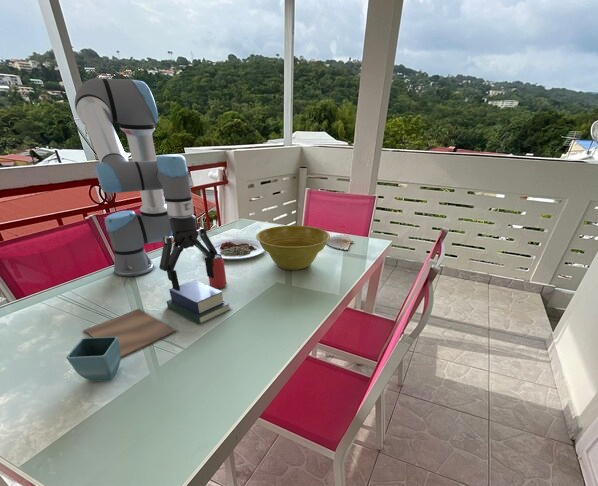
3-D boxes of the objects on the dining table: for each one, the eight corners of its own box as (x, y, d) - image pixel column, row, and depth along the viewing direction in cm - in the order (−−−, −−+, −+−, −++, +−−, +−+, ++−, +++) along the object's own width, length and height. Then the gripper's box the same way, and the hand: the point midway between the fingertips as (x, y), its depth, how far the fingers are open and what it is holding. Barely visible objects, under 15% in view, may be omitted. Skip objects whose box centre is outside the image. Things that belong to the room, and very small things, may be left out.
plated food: (248, 266, 149) (248, 258, 147) (192, 257, 157) (191, 250, 155) (275, 246, 172) (275, 239, 170) (225, 239, 180) (224, 233, 178)
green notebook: (167, 307, 116) (166, 301, 114) (198, 295, 124) (197, 289, 123) (199, 324, 107) (198, 317, 105) (230, 309, 115) (229, 303, 113)
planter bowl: (244, 271, 143) (242, 240, 136) (276, 249, 168) (275, 221, 160) (314, 283, 134) (315, 251, 126) (337, 258, 158) (339, 229, 150)
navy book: (171, 301, 114) (169, 289, 112) (196, 291, 121) (194, 279, 118) (198, 314, 107) (196, 302, 104) (223, 303, 113) (222, 291, 111)
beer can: (223, 289, 128) (219, 259, 121) (207, 288, 129) (202, 258, 122) (229, 283, 133) (225, 253, 126) (214, 281, 134) (209, 252, 127)
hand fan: (352, 235, 189) (325, 234, 189) (352, 234, 188) (325, 233, 189) (355, 250, 167) (325, 249, 168) (355, 249, 167) (325, 248, 167)
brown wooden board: (84, 331, 102) (83, 329, 102) (138, 310, 114) (138, 308, 114) (119, 358, 91) (119, 356, 91) (176, 331, 103) (175, 330, 102)
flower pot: (94, 365, 89) (82, 337, 83) (128, 363, 89) (118, 336, 84) (79, 387, 81) (64, 357, 76) (116, 385, 82) (104, 356, 77)
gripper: (149, 226, 87) (167, 298, 99) (222, 210, 103) (230, 274, 115) (135, 221, 91) (153, 292, 103) (207, 207, 107) (216, 269, 119)
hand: (194, 283), depth 109 cm, fingers open, 13 cm apart
